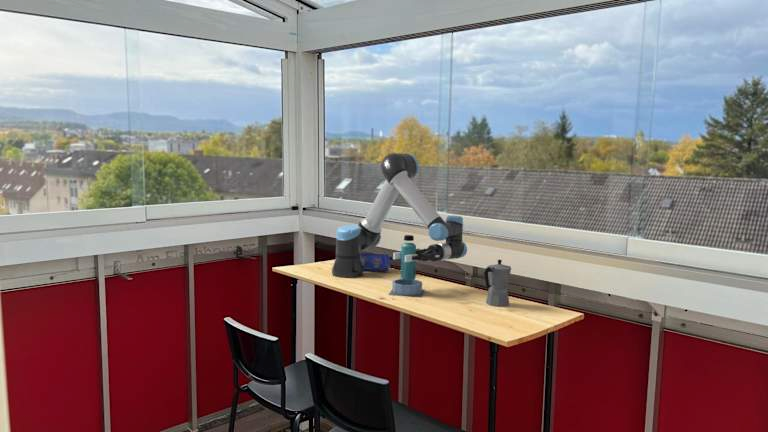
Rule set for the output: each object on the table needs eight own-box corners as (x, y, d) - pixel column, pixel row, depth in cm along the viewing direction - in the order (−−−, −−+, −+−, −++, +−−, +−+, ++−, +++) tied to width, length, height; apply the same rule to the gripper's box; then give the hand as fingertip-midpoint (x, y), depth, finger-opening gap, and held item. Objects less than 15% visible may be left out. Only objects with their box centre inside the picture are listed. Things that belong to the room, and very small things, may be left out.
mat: (388, 295, 238) (388, 294, 238) (393, 287, 252) (393, 287, 252) (421, 298, 236) (421, 297, 236) (425, 290, 250) (425, 289, 250)
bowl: (390, 294, 239) (390, 284, 238) (395, 287, 251) (395, 278, 251) (419, 296, 237) (420, 286, 236) (423, 289, 249) (423, 279, 248)
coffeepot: (498, 298, 238) (501, 256, 236) (517, 303, 231) (519, 260, 229) (473, 304, 228) (475, 259, 226) (492, 309, 221) (494, 263, 219)
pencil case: (392, 270, 290) (392, 251, 289) (388, 274, 281) (389, 254, 280) (350, 267, 294) (350, 249, 293) (345, 270, 286) (346, 251, 285)
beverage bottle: (414, 284, 239) (415, 236, 237) (398, 282, 241) (400, 235, 239) (416, 280, 246) (418, 234, 244) (401, 279, 247) (402, 233, 245)
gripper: (454, 264, 247) (415, 270, 232) (423, 257, 261) (384, 262, 247) (455, 246, 246) (415, 251, 231) (423, 241, 261) (384, 245, 246)
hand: (399, 257), depth 239 cm, fingers closed on beverage bottle, 6 cm apart
